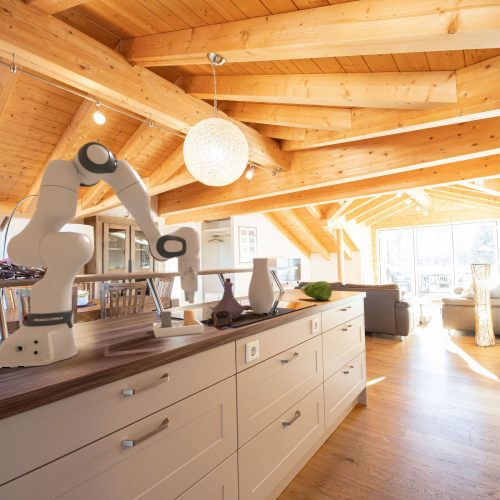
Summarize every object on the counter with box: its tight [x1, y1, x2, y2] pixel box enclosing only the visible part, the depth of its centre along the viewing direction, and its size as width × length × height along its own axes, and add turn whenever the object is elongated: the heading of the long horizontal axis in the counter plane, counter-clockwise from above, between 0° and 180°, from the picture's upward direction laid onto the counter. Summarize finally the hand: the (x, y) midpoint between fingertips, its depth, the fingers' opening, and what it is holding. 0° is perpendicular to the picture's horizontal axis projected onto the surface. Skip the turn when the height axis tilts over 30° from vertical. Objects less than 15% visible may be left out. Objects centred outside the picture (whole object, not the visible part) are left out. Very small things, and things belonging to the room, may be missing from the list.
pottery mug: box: [210, 310, 233, 329], centre depth 145 cm, size 12×10×8 cm
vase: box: [247, 257, 275, 315], centre depth 176 cm, size 14×14×30 cm
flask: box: [212, 277, 246, 320], centre depth 164 cm, size 16×16×20 cm
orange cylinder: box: [183, 309, 195, 326], centre depth 131 cm, size 4×4×8 cm
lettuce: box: [300, 280, 333, 301], centre depth 233 cm, size 14×23×13 cm, turn 48°
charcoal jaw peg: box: [160, 310, 172, 328], centre depth 128 cm, size 4×4×8 cm
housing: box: [152, 319, 205, 338], centre depth 129 cm, size 18×13×4 cm
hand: (189, 302), depth 130 cm, fingers open, 8 cm apart
